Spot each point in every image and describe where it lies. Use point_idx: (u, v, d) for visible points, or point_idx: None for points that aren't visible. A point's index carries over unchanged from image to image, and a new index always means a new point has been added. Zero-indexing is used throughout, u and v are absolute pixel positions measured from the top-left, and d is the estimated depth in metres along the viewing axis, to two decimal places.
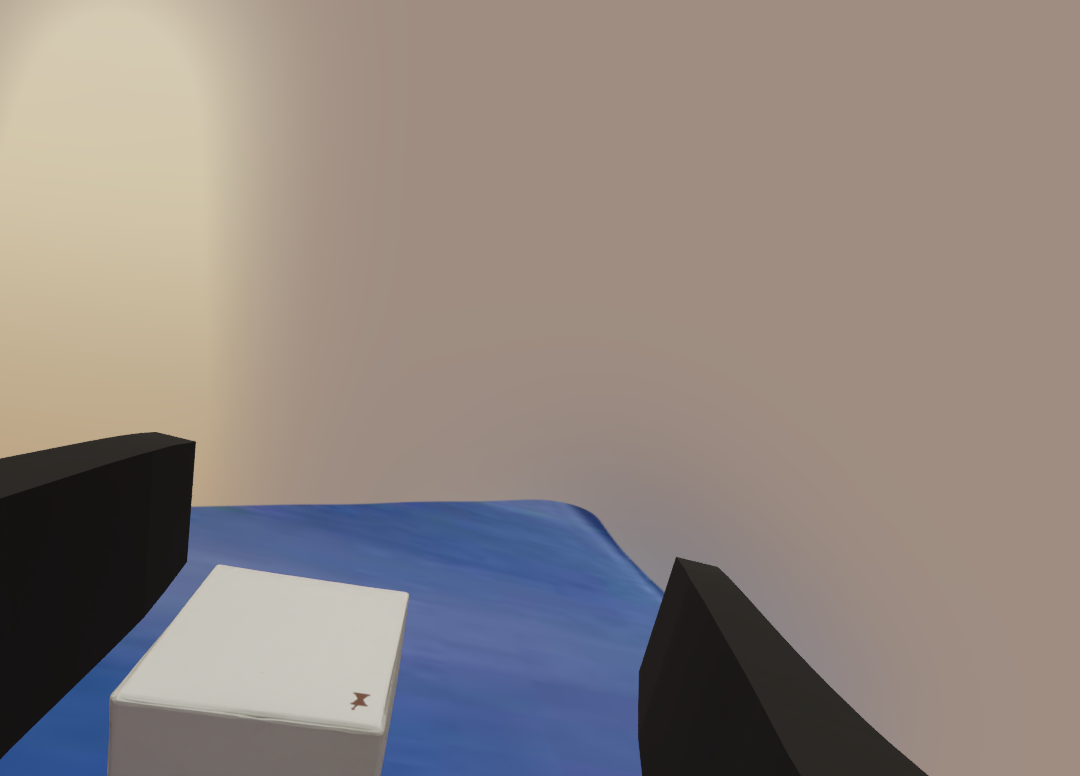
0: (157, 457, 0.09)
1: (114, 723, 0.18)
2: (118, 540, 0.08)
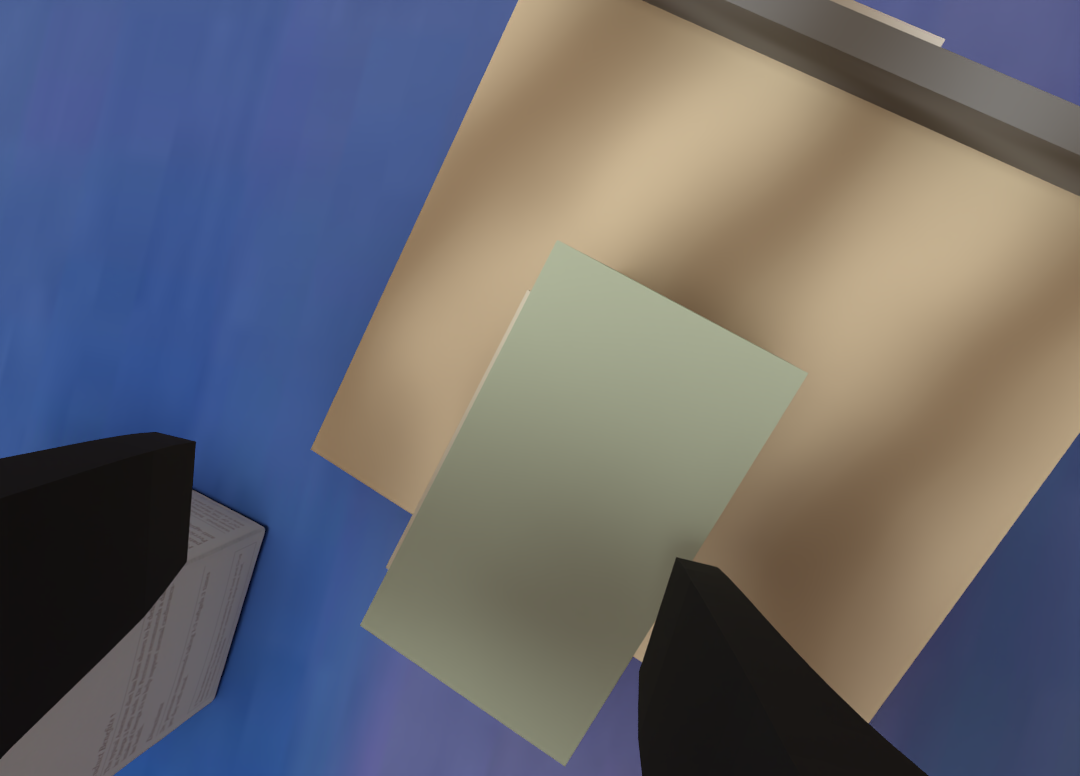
0: (157, 457, 0.09)
1: None
2: (118, 540, 0.08)
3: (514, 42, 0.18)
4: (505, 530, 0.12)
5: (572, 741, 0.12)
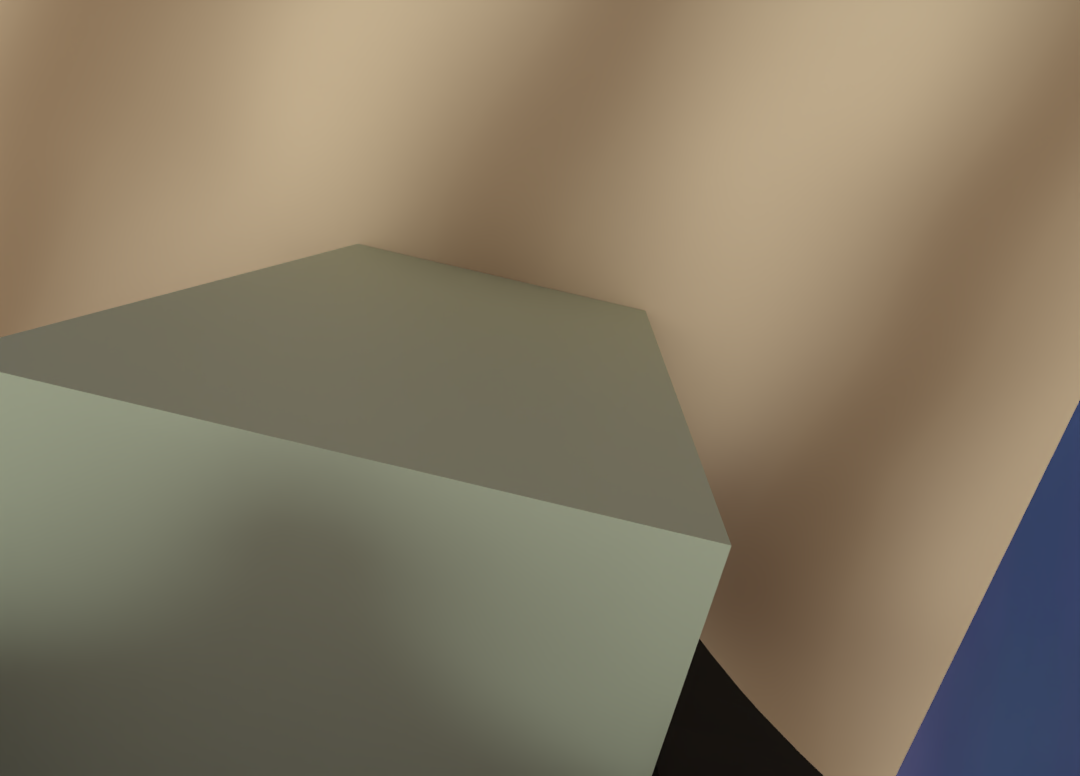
0: None
1: None
2: None
3: None
4: None
5: None
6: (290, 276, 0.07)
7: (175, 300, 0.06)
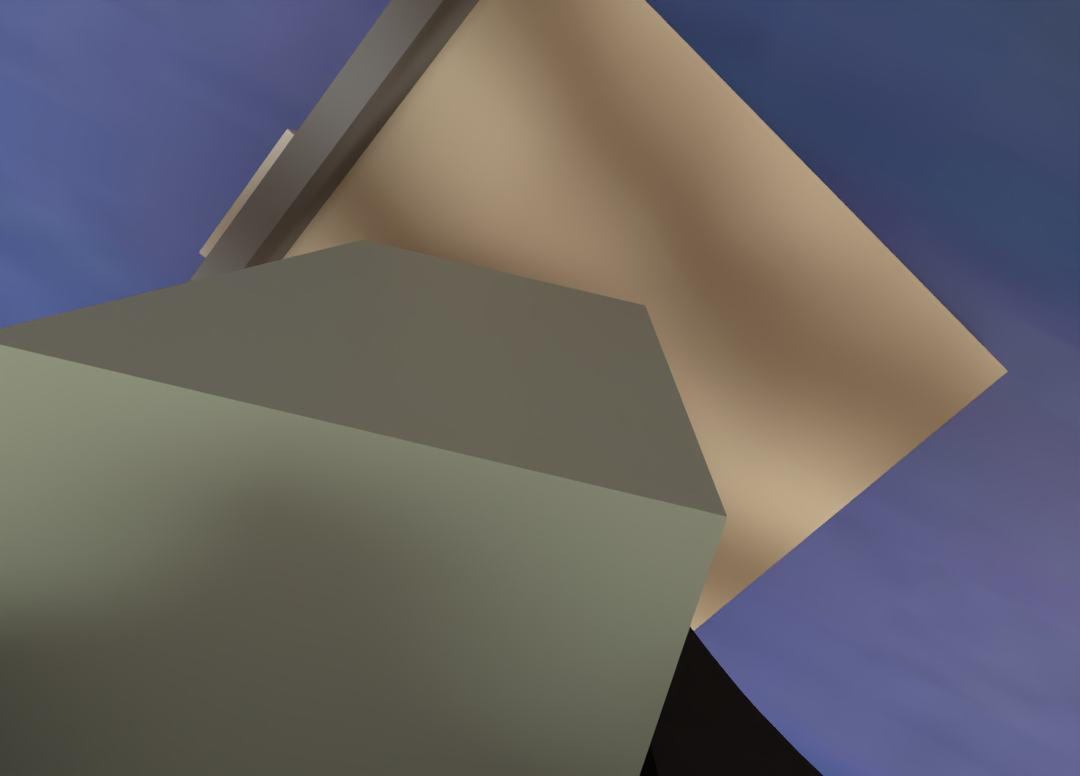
0: None
1: None
2: None
3: None
4: None
5: None
6: (299, 269, 0.08)
7: (191, 289, 0.06)
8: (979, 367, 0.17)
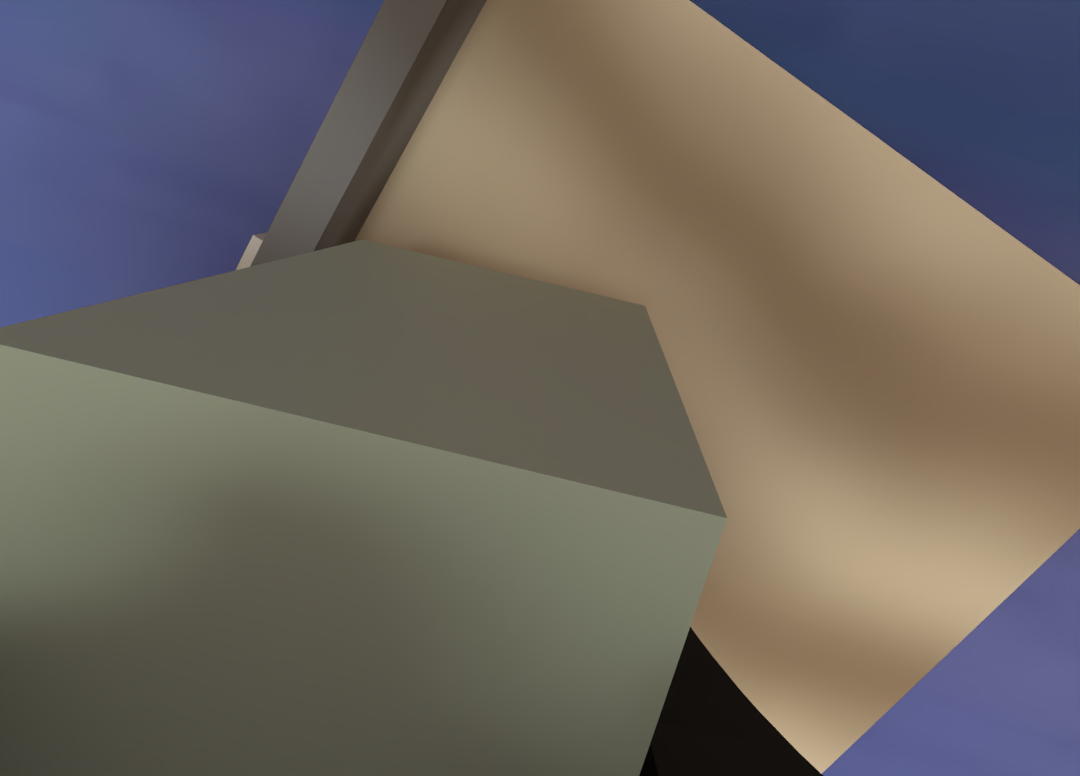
0: None
1: None
2: None
3: None
4: None
5: None
6: (299, 269, 0.08)
7: (190, 289, 0.06)
8: None
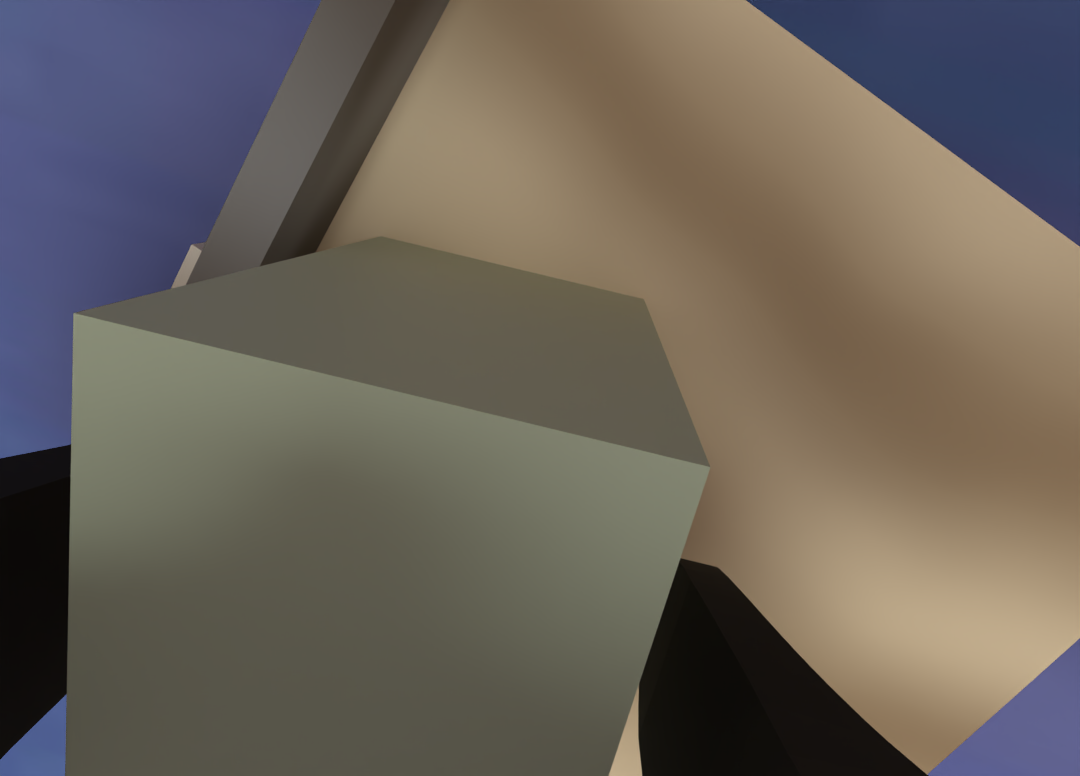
0: None
1: None
2: None
3: None
4: None
5: None
6: (329, 262, 0.08)
7: (241, 278, 0.07)
8: None
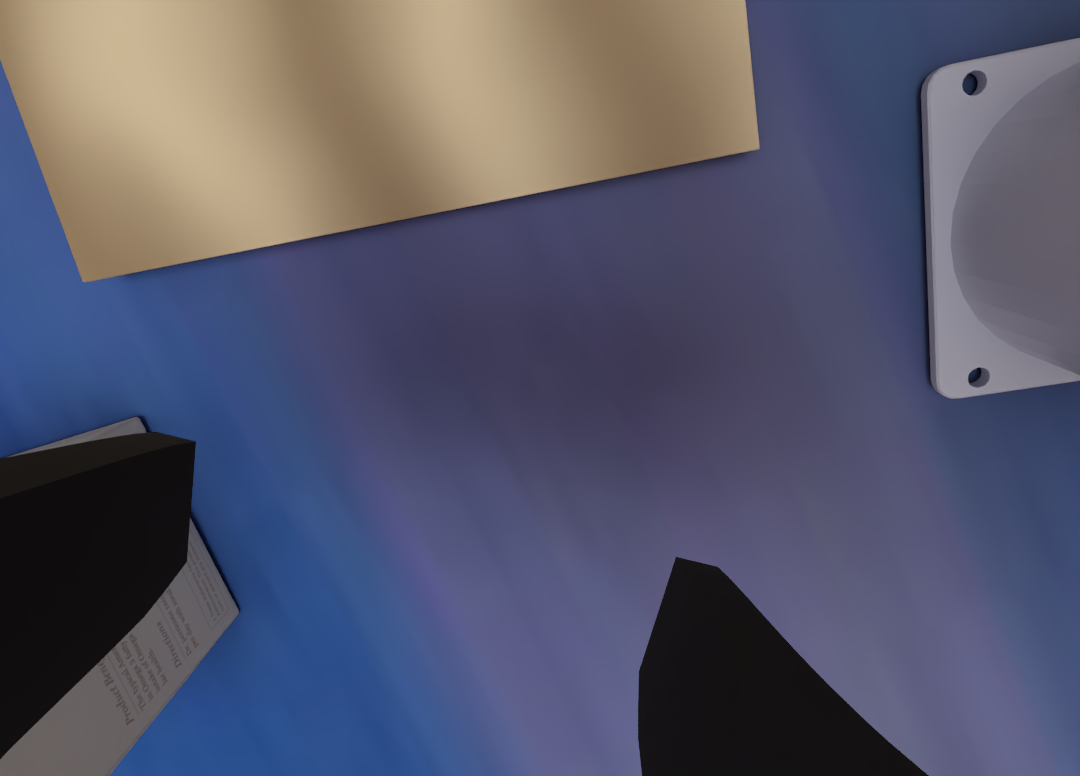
0: (157, 457, 0.09)
1: None
2: (118, 540, 0.08)
3: None
4: None
5: None
6: None
7: None
8: (738, 126, 0.15)
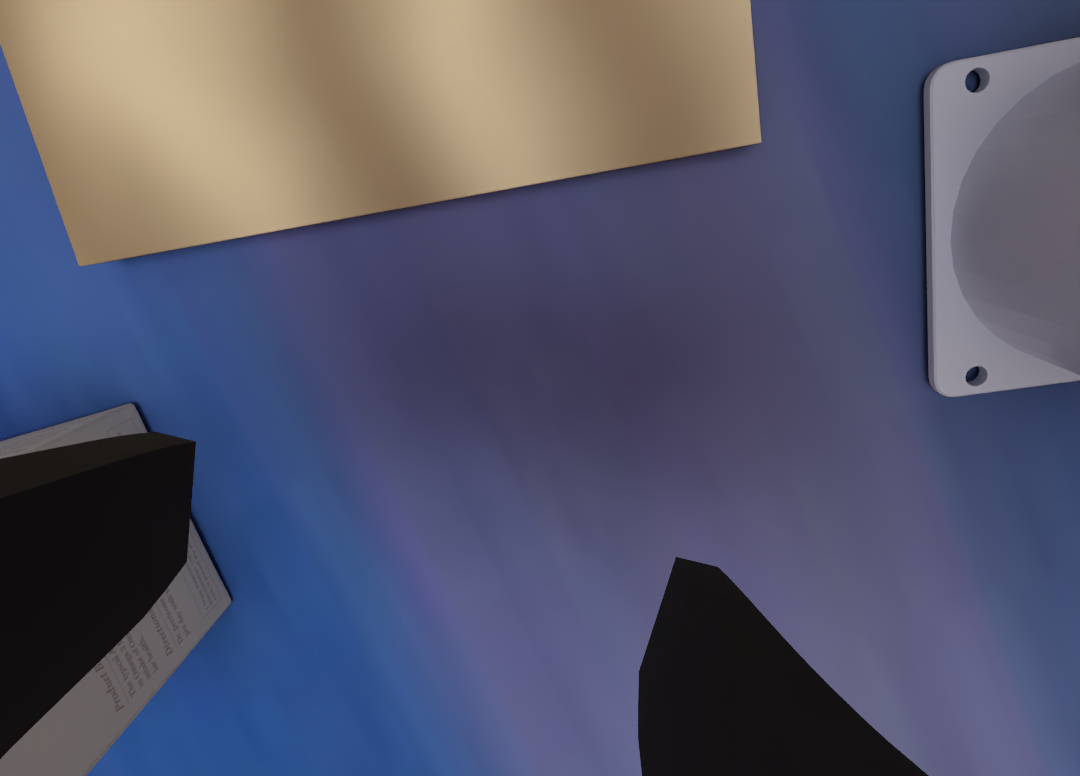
0: (157, 457, 0.09)
1: None
2: (118, 540, 0.08)
3: None
4: None
5: None
6: None
7: None
8: (741, 119, 0.15)
